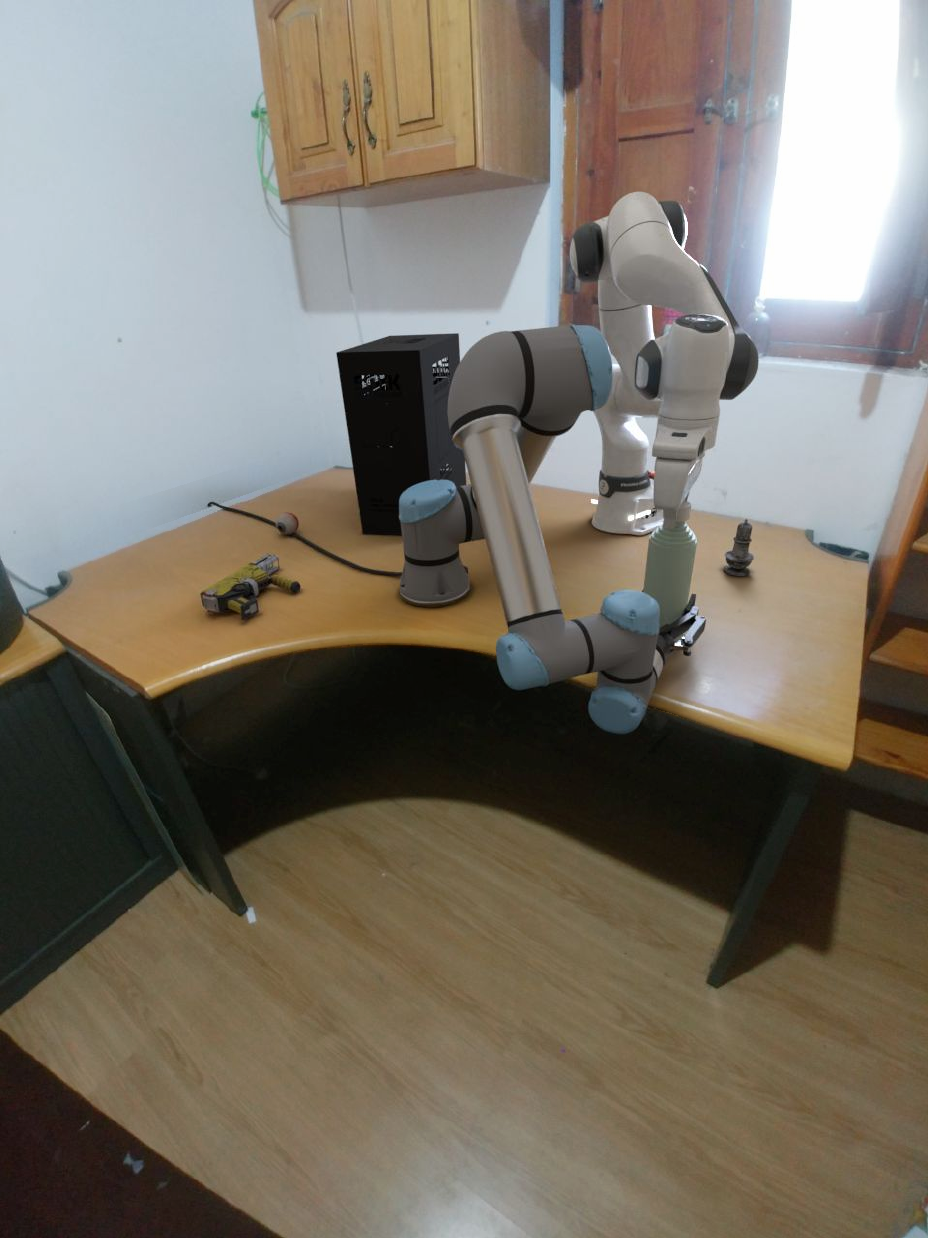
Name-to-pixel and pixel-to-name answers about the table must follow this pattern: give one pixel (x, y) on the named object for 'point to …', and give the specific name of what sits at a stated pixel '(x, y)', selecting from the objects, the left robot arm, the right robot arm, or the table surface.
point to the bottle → (670, 570)
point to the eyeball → (287, 523)
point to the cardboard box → (399, 421)
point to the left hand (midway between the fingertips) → (669, 596)
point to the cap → (683, 512)
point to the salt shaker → (740, 551)
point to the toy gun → (245, 588)
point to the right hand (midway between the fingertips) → (674, 518)
